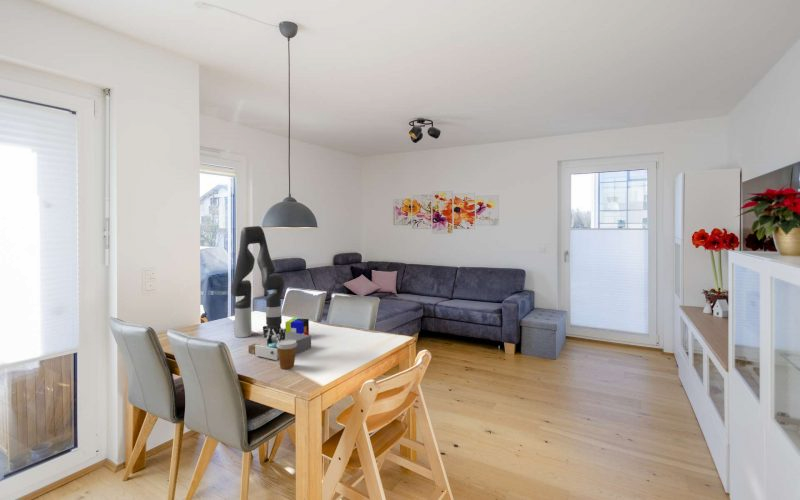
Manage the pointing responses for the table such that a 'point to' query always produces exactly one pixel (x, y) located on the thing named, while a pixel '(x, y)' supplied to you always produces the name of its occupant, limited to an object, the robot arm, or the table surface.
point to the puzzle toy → (298, 326)
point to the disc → (272, 345)
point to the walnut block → (252, 348)
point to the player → (298, 341)
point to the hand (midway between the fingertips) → (274, 347)
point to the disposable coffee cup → (286, 353)
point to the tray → (266, 352)
